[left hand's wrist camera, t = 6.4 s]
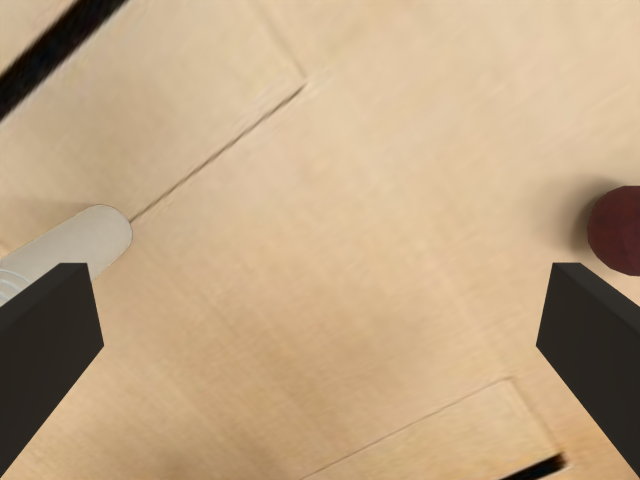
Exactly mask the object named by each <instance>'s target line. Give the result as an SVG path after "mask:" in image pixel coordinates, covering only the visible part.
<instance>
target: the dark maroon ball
mask: <svg viewBox="0 0 640 480" xmlns="http://www.w3.org/2000/svg"><path fill="white" fill-rule="evenodd" d="M587 230H588V242H589V244H590V247H591V248H592V250H593V251H594V253H595V255H596V256H597V257H598V258H599V259H600V260H601V261H602V262H603V263H604V264H606V265H607V266H608V267H609V268H610V269H613V270H615V271H618V272H621V273H624V274H626V275H629V276H640V186H623V187H620V188H617V189H615V190H612V191H610V192H608V193H607V194H605V195H604V196H603V197H602V198H601V199H599V200H598V202H597V203H596V205H595V207H594V208H593V210H592V213H591V216H590V220H589V223H588V227H587Z"/></svg>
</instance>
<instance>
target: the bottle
mask: <svg viewBox="0 0 640 480" xmlns="http://www.w3.org/2000/svg"><path fill="white" fill-rule="evenodd" d="M131 241H132V229H131V226H130V224H129V222H128V220H127V219H126V217H125V216H124V215H123V214H122V213H121V212H119V211H118V210H116V209H114V208H112V207H109V206H106V205H94V206H90V207H88V208H86V209H85V210H83V211H81V212H80V213H78V214H76V215H75V216H73V217H71V218H69V219H68V220H66V221H64V222H63V223H61V224H59V225H58V226H56V227H54V228H53V229H51V230H49V231H47V232H46V233H44V234H42V235H41V236H39V237H37V238H36V239H34V240H32V241H31V242H29V243H27V244H25V245H24V246H22V247H20V248H19V249H17V250H15V251H14V252H12V253H10V254H9V255H7V256H5V257H3V258H2V259H0V307H1V306H2V305H4V304H5V303H6V302H8V301H9V300H10V299H12V298H13V297H14V296H16V295H17V294H18V293H20V292H21V291H22V290H24V289H25V288H26V287H28V286H29V285H31V284H32V283H33V282H35V281H36V280H37V279H39V278H40V277H41V276H43V275H44V274H45V273H47V272H48V271H49V270H51V269H52V268H54V267H55V266H56V265H58V264H59V263H87V264H88V269H89V274H90V279H91V282H92V281H93V280H95V279H96V278H97V277H98V276H99V275H100V274H101V273H102V272H103V271H104V270H105V269H106V268H108V267H109V266H110V265H111V264H112V263H113V262H114V261H115V260H116V259H117V258H118V257H119V256H120V255H122V254H123V253H124V252H125V251H126V250H127V249H128V247H129V246H130V244H131Z"/></svg>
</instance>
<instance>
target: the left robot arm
mask: <svg viewBox="0 0 640 480" xmlns="http://www.w3.org/2000/svg"><path fill="white" fill-rule="evenodd" d="M103 347H104V342H103V338H102V333H101V328H100V323H99V318H98V313H97V308H96V303H95V298H94V294H93V289H92V284H91V279H90V274H89V269H88V264H87V263H59V264H58V265H56V266H55V267H54V268H52V269H51V270H49V271H48V272H47V273H45V274H44V275H43V276H41V277H40V278H39V279H37V280H36V281H35V282H33V283H32V284H31V285H29V286H28V287H26V288H25V289H24V290H22V291H21V292H20V293H18V294H17V295H16V296H14V297H13V298H12V299H10V300H9V301H8V302H6V303H5V304H4V305H2V306H1V307H0V478H1V477H2V475H3V474H4V473H5V472H6V470H7V469H8V468H9V467H10V465H11V464H12V463H13V461H14V460H15V459H16V458H17V456H18V455H19V454H20V453H21V451H22V450H23V449H24V447H25V446H26V445H27V444H28V442H29V441H30V440H31V438H32V437H33V436H34V435H35V433H36V432H37V431H38V430H39V428H40V427H41V426H42V424H43V423H44V422H45V421H46V419H47V418H48V417H49V416H50V414H51V413H52V412H53V410H54V409H55V408H56V407H57V405H58V404H59V403H60V401H61V400H62V399H63V398H64V396H65V395H66V394H67V393H68V391H69V390H70V389H71V387H72V386H73V385H74V384H75V382H76V381H77V380H78V378H79V377H80V376H81V375H82V373H83V372H84V371H85V370H86V368H87V367H88V366H89V364H90V363H91V362H92V361H93V359H94V358H95V357H96V356H97V354H98V353H99V352H100V350H101V349H102V348H103ZM536 347H537V348H538V349H539V350H540V352H541V353H542V354H543V356H544V357H545V358H546V359H547V361H548V362H549V363H550V364H551V366H552V367H553V368H554V370H555V371H556V372H557V373H558V375H559V376H560V377H561V378H562V380H563V381H564V382H565V384H566V385H567V386H568V387H569V389H570V390H571V391H572V393H573V394H574V395H575V396H576V398H577V399H578V400H579V401H580V403H581V404H582V405H583V407H584V408H585V409H586V410H587V412H588V413H589V414H590V416H591V417H592V418H593V419H594V421H595V422H596V423H597V424H598V426H599V427H600V428H601V430H602V431H603V432H604V433H605V435H606V436H607V437H608V438H609V440H610V441H611V442H612V444H613V445H614V446H615V447H616V449H617V450H618V451H619V453H620V454H621V455H622V456H623V458H624V459H625V460H626V461H627V463H628V464H629V465H630V467H631V468H632V469H633V470H634V472H635V473H636V474H637V475H638V477H639V478H640V307H639V306H638V305H636V304H635V303H634V302H632V301H631V300H630V299H628V298H627V297H626V296H624V295H623V294H622V293H620V292H619V291H618V290H616V289H615V288H614V287H612V286H611V285H609V284H608V283H607V282H605V281H604V280H603V279H601V278H600V277H599V276H597V275H596V274H595V273H593V272H592V271H591V270H589V269H588V268H586V267H585V266H584V265H582V264H581V263H553V264H552V269H551V274H550V279H549V284H548V289H547V294H546V298H545V303H544V308H543V313H542V318H541V323H540V328H539V333H538V337H537V342H536Z"/></svg>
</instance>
